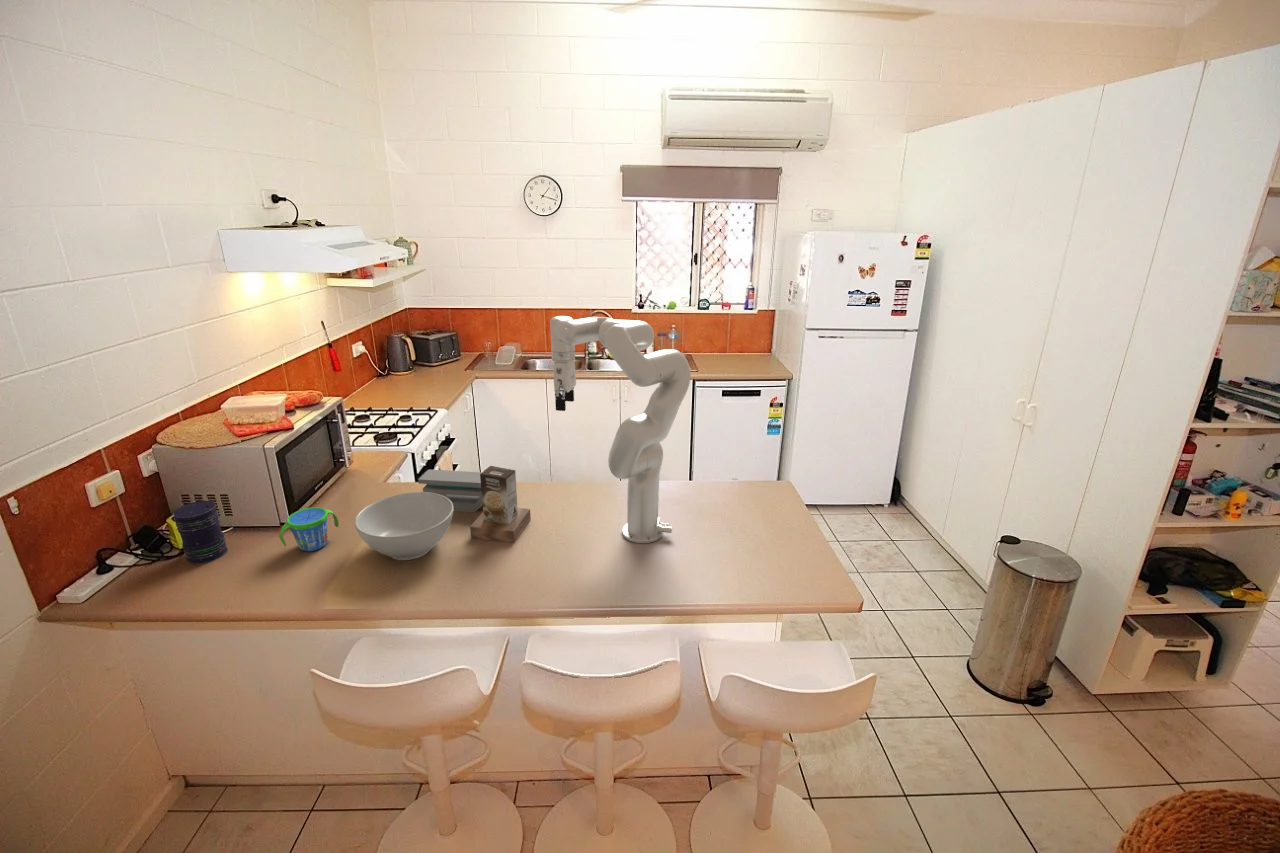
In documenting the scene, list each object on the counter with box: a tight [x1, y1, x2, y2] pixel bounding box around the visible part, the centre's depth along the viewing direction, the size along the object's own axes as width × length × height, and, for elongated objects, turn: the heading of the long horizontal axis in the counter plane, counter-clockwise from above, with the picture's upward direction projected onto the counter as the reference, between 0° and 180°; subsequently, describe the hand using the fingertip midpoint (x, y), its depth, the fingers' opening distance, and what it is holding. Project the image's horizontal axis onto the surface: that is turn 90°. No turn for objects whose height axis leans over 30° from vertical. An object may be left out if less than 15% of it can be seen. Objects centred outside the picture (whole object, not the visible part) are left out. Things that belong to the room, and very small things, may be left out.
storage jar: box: [172, 500, 228, 565], centre depth 169 cm, size 10×10×15 cm
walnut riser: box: [469, 507, 532, 544], centre depth 186 cm, size 14×14×4 cm
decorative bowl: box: [353, 491, 454, 561], centre depth 173 cm, size 27×27×12 cm
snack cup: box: [279, 506, 340, 552], centre depth 174 cm, size 16×10×10 cm
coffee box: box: [480, 465, 519, 525], centre depth 182 cm, size 9×6×16 cm
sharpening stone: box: [417, 469, 483, 513], centre depth 199 cm, size 25×8×11 cm, turn 84°
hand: (565, 405), depth 196 cm, fingers open, 9 cm apart
